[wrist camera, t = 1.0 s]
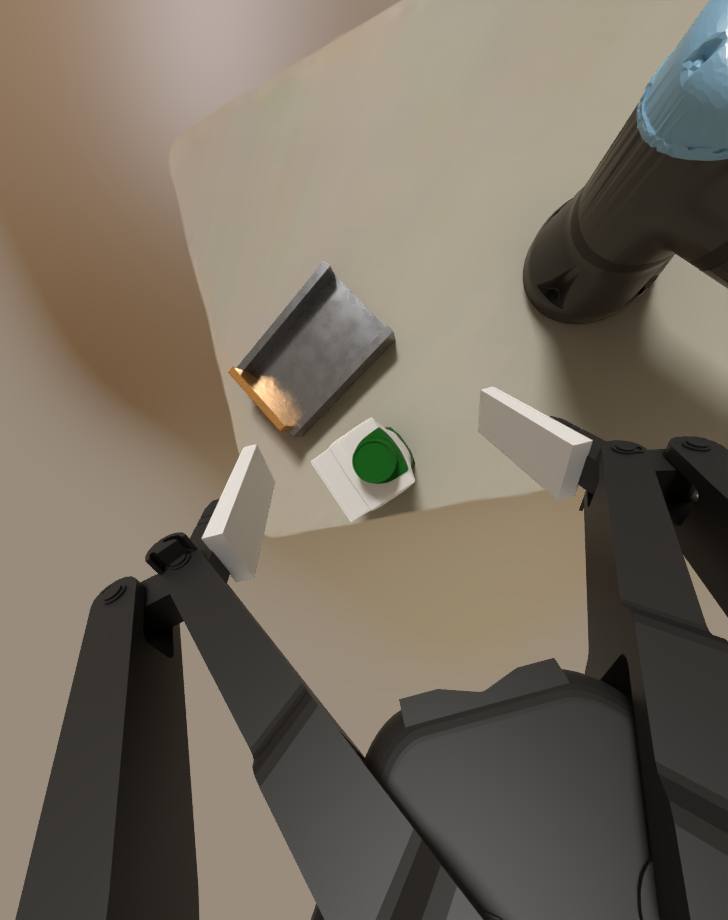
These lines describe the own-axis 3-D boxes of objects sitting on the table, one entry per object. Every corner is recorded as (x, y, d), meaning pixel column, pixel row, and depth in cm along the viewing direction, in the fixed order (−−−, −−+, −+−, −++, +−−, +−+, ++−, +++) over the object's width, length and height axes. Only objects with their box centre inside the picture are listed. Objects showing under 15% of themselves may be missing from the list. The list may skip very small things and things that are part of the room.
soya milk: (423, 464, 43) (424, 488, 23) (377, 494, 45) (342, 539, 25) (392, 419, 43) (367, 405, 23) (347, 450, 45) (291, 462, 26)
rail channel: (332, 274, 43) (318, 248, 37) (395, 339, 42) (391, 323, 36) (247, 375, 48) (223, 366, 42) (302, 436, 46) (285, 436, 41)
